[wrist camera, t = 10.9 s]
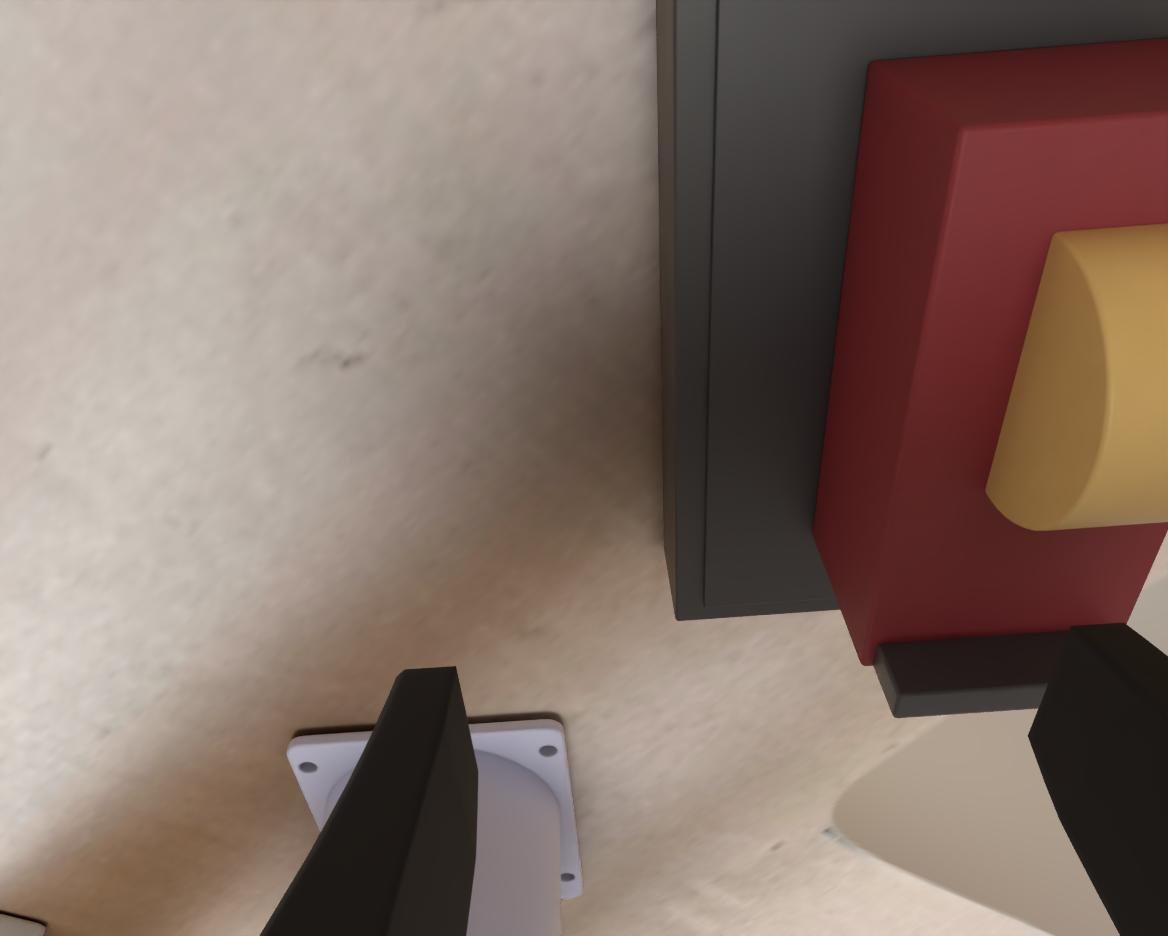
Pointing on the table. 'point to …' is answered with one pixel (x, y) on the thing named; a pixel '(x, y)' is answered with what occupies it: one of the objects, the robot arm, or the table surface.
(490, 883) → the robot arm
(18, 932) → the ink box
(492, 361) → the table surface
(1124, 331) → the tape dispenser
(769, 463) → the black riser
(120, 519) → the table surface
